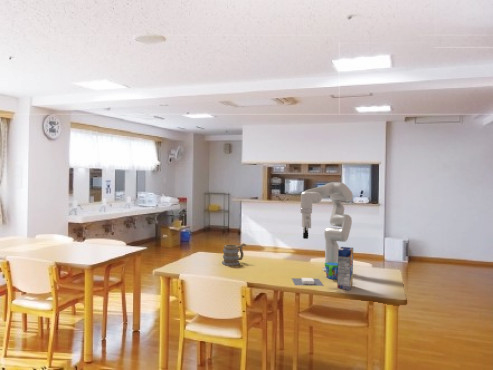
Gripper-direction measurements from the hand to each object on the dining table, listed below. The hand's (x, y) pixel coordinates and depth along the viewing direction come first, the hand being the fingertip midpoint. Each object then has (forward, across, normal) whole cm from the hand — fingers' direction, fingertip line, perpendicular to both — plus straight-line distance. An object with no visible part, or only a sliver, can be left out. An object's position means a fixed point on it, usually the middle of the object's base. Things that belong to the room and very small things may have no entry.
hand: (305, 238), depth 265 cm
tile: (+25, -8, 0) cm, 27 cm away
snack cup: (+27, +2, -19) cm, 33 cm away
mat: (+27, -10, 0) cm, 29 cm away
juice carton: (+27, -19, -22) cm, 40 cm away
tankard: (+27, +45, +47) cm, 71 cm away
